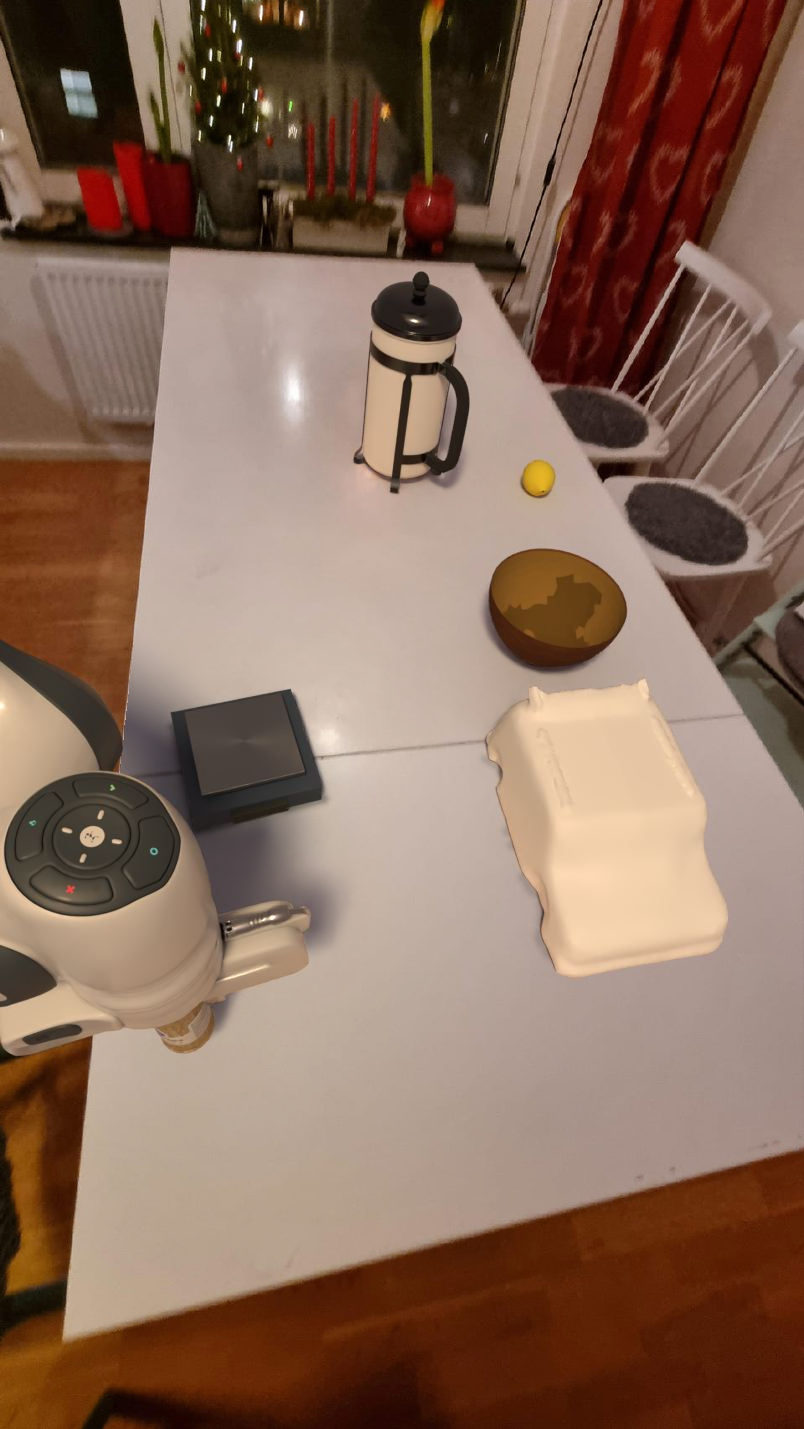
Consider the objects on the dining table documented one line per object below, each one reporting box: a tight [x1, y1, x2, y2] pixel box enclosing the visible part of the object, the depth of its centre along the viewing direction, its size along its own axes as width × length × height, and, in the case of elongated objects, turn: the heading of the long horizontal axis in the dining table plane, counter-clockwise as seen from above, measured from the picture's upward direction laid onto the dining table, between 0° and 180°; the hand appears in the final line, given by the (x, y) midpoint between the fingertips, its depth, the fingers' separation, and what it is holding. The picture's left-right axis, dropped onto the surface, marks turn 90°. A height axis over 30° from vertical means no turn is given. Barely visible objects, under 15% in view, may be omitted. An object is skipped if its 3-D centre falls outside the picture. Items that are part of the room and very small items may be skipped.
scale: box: [170, 688, 323, 831], centre depth 79 cm, size 14×15×3 cm
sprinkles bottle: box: [153, 1001, 216, 1054], centre depth 53 cm, size 5×5×14 cm
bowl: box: [488, 548, 628, 669], centre depth 92 cm, size 18×18×10 cm
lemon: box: [521, 459, 556, 497], centre depth 115 cm, size 7×5×5 cm
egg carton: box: [485, 675, 730, 979], centre depth 74 cm, size 19×30×13 cm, turn 12°
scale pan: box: [185, 693, 305, 798], centre depth 77 cm, size 11×11×1 cm
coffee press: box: [353, 270, 471, 494], centre depth 104 cm, size 17×16×30 cm
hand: (177, 1003), depth 55 cm, fingers closed on sprinkles bottle, 4 cm apart
